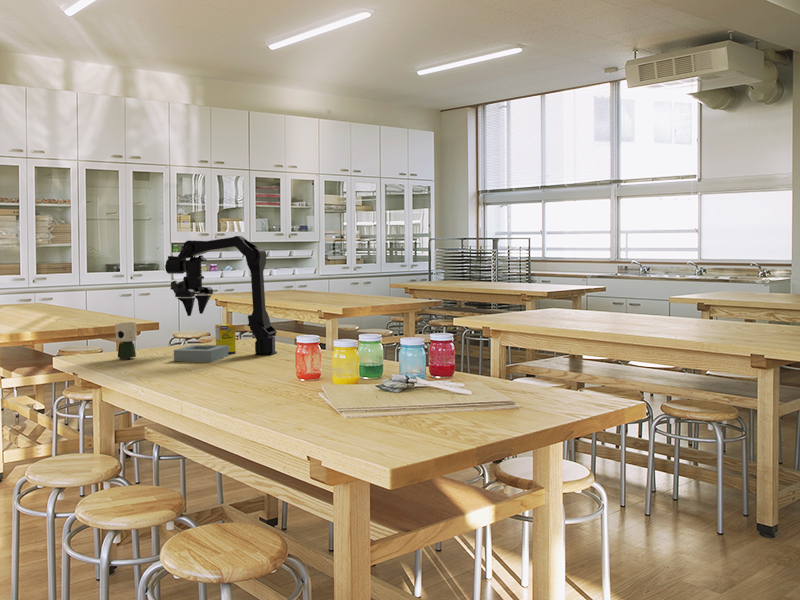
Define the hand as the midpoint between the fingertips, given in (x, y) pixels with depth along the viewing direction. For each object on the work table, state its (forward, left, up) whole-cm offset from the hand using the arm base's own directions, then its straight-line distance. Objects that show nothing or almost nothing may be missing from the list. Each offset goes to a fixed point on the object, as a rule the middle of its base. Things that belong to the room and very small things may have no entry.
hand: (195, 314), depth 270 cm
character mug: (+18, +18, -15) cm, 29 cm away
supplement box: (-12, 0, -15) cm, 19 cm away
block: (-9, +14, -14) cm, 22 cm away
